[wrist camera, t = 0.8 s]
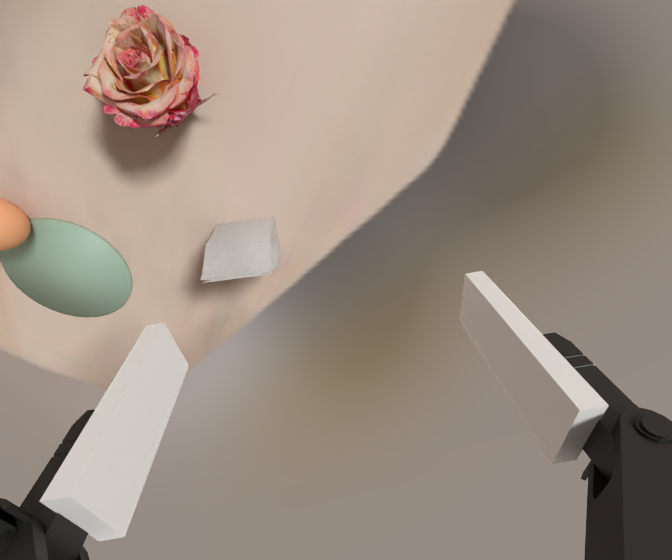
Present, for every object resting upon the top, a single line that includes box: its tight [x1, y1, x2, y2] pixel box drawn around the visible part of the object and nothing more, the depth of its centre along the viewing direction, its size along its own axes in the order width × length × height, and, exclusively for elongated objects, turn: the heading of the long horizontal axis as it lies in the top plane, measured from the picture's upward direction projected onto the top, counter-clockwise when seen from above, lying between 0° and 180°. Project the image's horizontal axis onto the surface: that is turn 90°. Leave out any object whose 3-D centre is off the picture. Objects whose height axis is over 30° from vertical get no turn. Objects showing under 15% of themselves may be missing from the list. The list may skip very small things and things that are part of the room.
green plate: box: [0, 219, 132, 317], centre depth 39 cm, size 14×14×1 cm
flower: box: [83, 5, 219, 138], centre depth 27 cm, size 10×9×8 cm
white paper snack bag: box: [201, 217, 280, 283], centre depth 35 cm, size 4×7×10 cm, turn 95°
